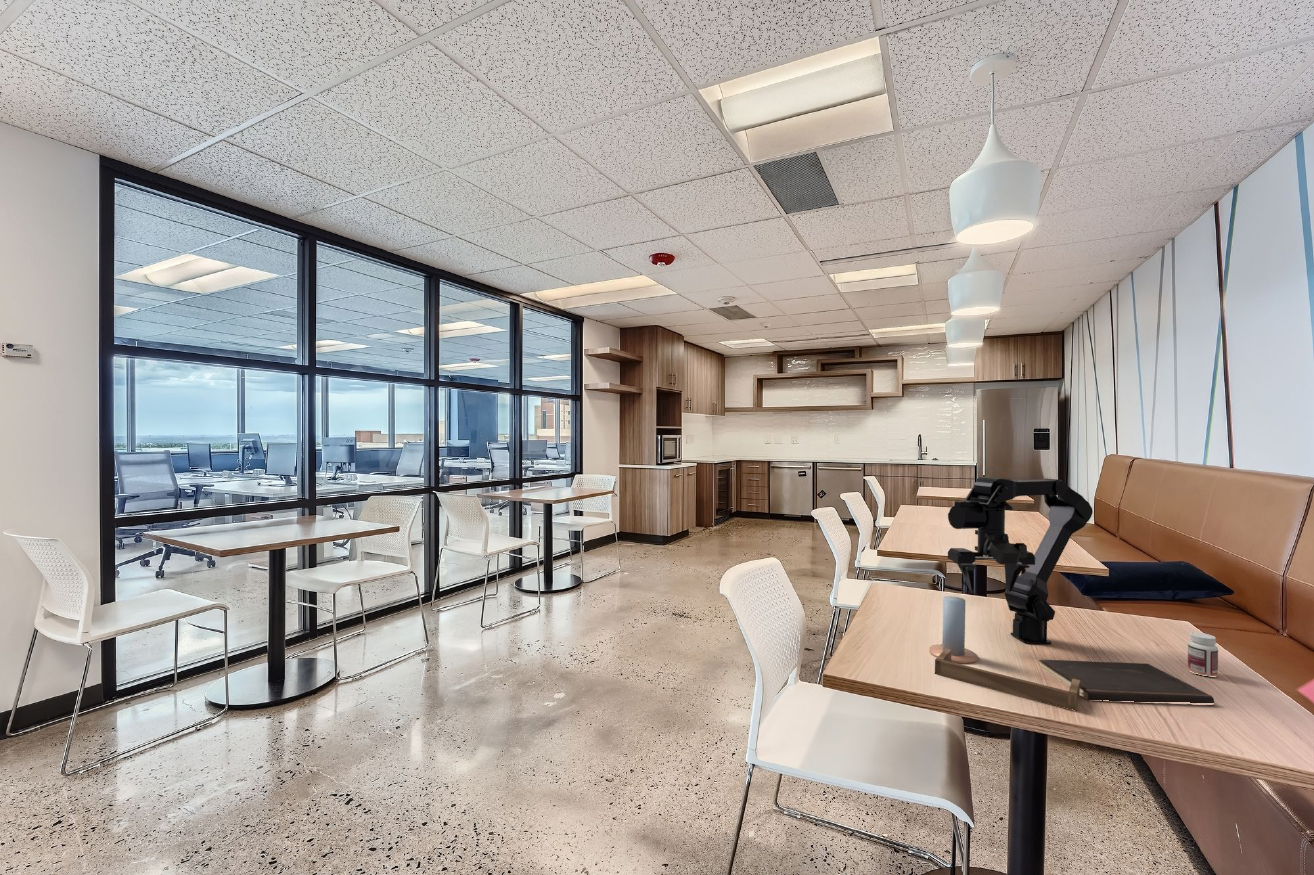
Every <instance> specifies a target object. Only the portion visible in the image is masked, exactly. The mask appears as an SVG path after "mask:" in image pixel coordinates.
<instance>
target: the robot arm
mask: <svg viewBox="0 0 1314 875" xmlns="http://www.w3.org/2000/svg"><path fill="white" fill-rule="evenodd" d="M1025 496H1026V497H1029V496H1031V497H1032V496H1043V500H1044V503H1045V505H1046V507H1048V509H1049V510H1048V512H1047V517H1048V521H1049V526H1048V528H1047V530H1046V532H1045V533H1044V536H1043V537H1042V539H1041V541H1040V543H1039V545H1038V547H1037V548H1036V551H1035V552H1034V553H1033V552H1030V551H1028V546H1027V545H1026V543H1025V542H1015V543H1011V542H1010V540H1009V538H1010V536H1009V535H1008V533H1005V529H1006V527H1005V525H1006V511H1012V510H1013V506H1011V505H1010V504H1009V503H1008V501H1011V500H1013V499H1015V498H1017V497H1018V498H1019V497H1025ZM1093 513H1094V512H1093V507H1092V506H1091V504H1090V502H1089V501H1088V500H1086V498H1084V496H1083V495H1081V494H1080V493H1078V492H1077V491H1076V490H1074V489H1073V488H1071V487H1069V485H1068V484H1067V483H1066V482H1065V481H1064V480H1062V479H1057V478H1046V477H1045V478H1043V479H1022V480H1019V479H1018V480H1013V479H1007V478H1001V477H1000V478H999V477H989V476H979V477H978V478H977V480H976V481H975V483H974V485H973V487H972V488H971V489H970V491H969V493H968V494H967V495H966V497H965V499H964V500H963V501H962V500H954V505H953V506H951V507H950V508H949V511H948V513H947V519H948V522H949V525H950V526H951V527H952V528H953V529H954V530H955V529H956V530H968V529H969V530H971V529H973V530H974V529H975V530H974V535H977V545H975V546H974V551H972V550H970V549H967V548H965V547H964V548H963V547H950V548H949V549H948V552H947V559H948V560H950V561H952V563H953V564H957V566H958V568H959V570H960V572H961V573H962V576H963V578H964V580H965V582H966V585H967V586H968V589H969V591H971V592H974V589H975V569H976V567H977V565H976V564H974V563H975V562H976V561H977V560H978V561H995V562H996V563H997V564H1000V565H1004V575H1005V578H1004V579H1005V586H1004V588H1005V591H1004V596H1005V601H1006V603H1007V605H1008V606H1007V607H1008V610H1009V611H1010V612H1014V618H1013V619H1012V632H1010V633H1009V634H1010V635H1011V636H1012V637H1014V638H1016V639H1018V640H1019V641H1021V642H1023V643H1025V644H1032V645H1033V644H1035V645H1036V644H1039V645H1040V644H1041V645H1042V644H1043V645H1052V641H1051V640H1049V639H1048V622H1050V621H1053V620H1054V618H1055V614H1056V611H1055V609H1054V608H1053V607H1052V605H1050V604H1049V603H1048V602H1047V601H1048V597H1049V590H1048V582H1049V581H1048V580H1049V578H1050V577H1051V575H1052V573H1053V571H1054V569H1055V567H1056V565H1057V564H1058V562H1059V560H1060V558H1061V556H1062V554H1063V552H1064V551H1065V548H1066V546H1067V544H1068V543H1069V540H1070V539H1071V536H1072V535H1073V534H1074V533H1076V532H1078V531H1080V530H1081V529H1083V528H1085V526H1086V525H1087V524H1088V522H1089V521H1090V519H1091V518H1092V516H1093ZM1025 569H1026V570H1025ZM1023 570H1025V571H1024V573H1021V572H1022V571H1023Z"/></svg>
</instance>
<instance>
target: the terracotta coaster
mask: <svg viewBox="0 0 1314 875" xmlns="http://www.w3.org/2000/svg"><path fill="white" fill-rule="evenodd" d="M928 651H929V654H931V656H933V657H934V658H937V657H938V656H939V655H940V654H941V653H942V652H943V651H942V644H939V643H938V644H934V645H933V644H932V645H931V646H929V650H928ZM978 660H979V658H978V655H977V653H975V652H974V651H973V650H971V649H968V648H965V653H964V656H952V655H951V662H954V663H958V664H962V665H966V664H974V663H977V661H978Z"/></svg>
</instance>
